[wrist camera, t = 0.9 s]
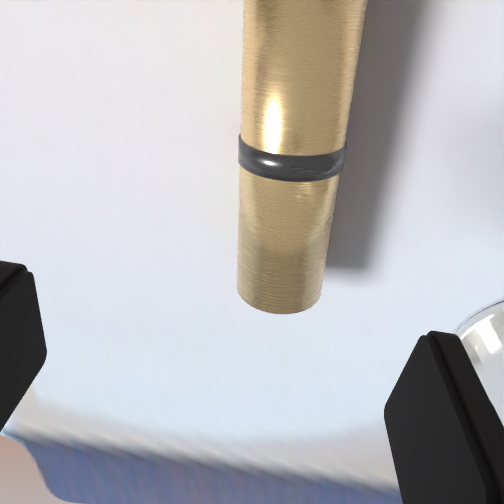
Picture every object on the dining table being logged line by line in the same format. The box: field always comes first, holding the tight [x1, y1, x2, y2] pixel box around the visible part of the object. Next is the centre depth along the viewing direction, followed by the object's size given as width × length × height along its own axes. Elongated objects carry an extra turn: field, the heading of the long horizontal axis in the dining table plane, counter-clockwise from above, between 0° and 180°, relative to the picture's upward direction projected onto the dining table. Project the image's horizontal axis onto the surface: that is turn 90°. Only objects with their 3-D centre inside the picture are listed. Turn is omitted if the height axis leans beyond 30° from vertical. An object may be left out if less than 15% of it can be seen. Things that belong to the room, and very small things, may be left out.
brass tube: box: [237, 0, 368, 314], centre depth 24 cm, size 20×6×6 cm, turn 178°
